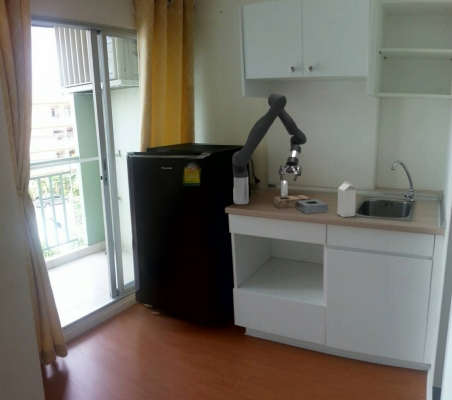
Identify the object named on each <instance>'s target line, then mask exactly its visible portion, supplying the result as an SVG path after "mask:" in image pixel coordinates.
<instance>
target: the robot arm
mask: <svg viewBox="0 0 452 400" xmlns="http://www.w3.org/2000/svg"><path fill="white" fill-rule="evenodd" d="M267 103H268V105H269V109H268V111H267V112H266V113H265V114H263V116H261V117H259V119H257V121H255V123H254V125H253V126H252V128H251V129H250V131H249V134H248V135H247V139H246V141H245V143H244V145H243V146H242V148H241V149H240V150H239V151H236V152H234V153H233V154H232V159H231V161H232V173H233V189H232V193H233V194H232V195H233V197H232V198H233V204H235V205H247V204H249V172H248V166H247V165H248V164H249V163H250V160H251V158H252V156H253V154H254V153H255V151H256V149H257V147H258V146H259V145H260V143H261V142H262V141H263V139H264V138H265V135H266V134H267V133H268V131H269V129H270V128H271V127H272V125H273V124H274V122H275V121H276V119H277V118H279V120H280V121H281V123H282V125H283V127H284V128H285V130H286V131H287V133H288V135H289V136H291V137H290V139H289V142H290V149H289V152H288V155H287V157H286V163H285V166H283V165H280V166H279V169H278V175H279V180H280V181H281V180H284V176H285V175H287V174H294V177H293V182H296V181H297V180H298V177H301V175H302V171H303V167H302V166H301V165H300V166H299V161H300V159H301V158H300V157H301V152H302V146H301V145H305V144H306V143H307V136H306V134H305V133H304V132H303V131H302V130H301V129H300V128H299V127H298V126H297V123H296V121H294V119H293V117H292V116H291V115H290V114H289V113H288V112H287V111H286V109H285V108H286V105H287V97H286V96H285V95H284V94H279V93H271V94H270V95H269V96H268V98H267ZM297 171H298V172H297Z"/></svg>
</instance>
